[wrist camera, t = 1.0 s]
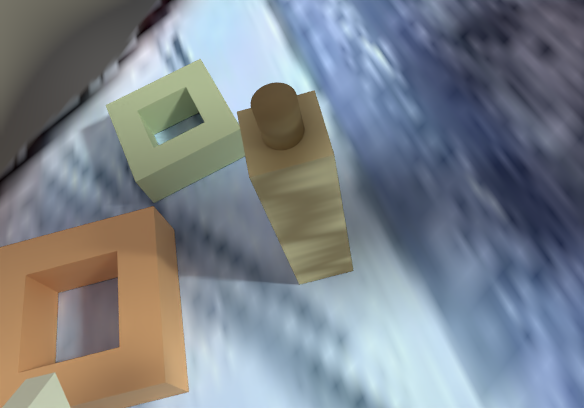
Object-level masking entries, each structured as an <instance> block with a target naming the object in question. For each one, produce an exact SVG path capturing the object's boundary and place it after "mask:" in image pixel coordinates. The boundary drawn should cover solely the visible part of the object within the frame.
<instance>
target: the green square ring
mask: <svg viewBox="0 0 584 408" xmlns="http://www.w3.org/2000/svg"><path fill="white" fill-rule="evenodd" d="M106 107H107V110H108V113H109V115H110V118H111V120H112V123H113V125H114V128H115V130H116V133H117V136H118V138H119V141H120V143H121V146H122V148H123V151H124V153H125V156H126V159H127V161H128V164H129V166H130V169H131V171H132V174H133V176H134V179H135V182H136V183H137V184H138V185H139V186H140V188H141V189H142V190H143V191H144V192H145V193H146V195H147V196H148V197H149V198H150V199H151V200H152V201H153V203H155V202H157V201H159V200H161V199H163V198H165V197H167V196H169V195H171V194H173V193H175V192H177V191H179V190H180V189H182V188H184V187H186V186H188V185H190V184H192V183H194V182H196V181H198V180H200V179H202V178H204V177H206V176H208V175H210V174H212V173H214V172H215V171H217V170H219V169H221V168H223V167H225V166H227V165H229V164H231V163H233V162H235V161H237V160H239V159H241V158H243V157H245V152H244V147H243V141H242V136H241V131H240V126H239V124H238V122H237V121H236V119H235V117H234V116H233V114H232V112H231V110H230V109H229V107H228V105H227V104H226V102H225V100H224V98H223V97H222V95H221V93H220V92H219V90H218V88H217V86H216V85H215V83H214V81H213V79H212V78H211V76H210V74H209V73H208V71H207V69H206V67H205V66H204V64H203V62H202V61H201V59H199V60H197V61H195V62H193V63H191V64H189V65H187V66H185V67H183V68H181V69H179V70H177V71H175V72H173V73H171V74H169V75H166V76H164V77H162V78H160V79H158V80H156V81H154V82H152V83H150V84H148V85H146V86H144V87H142V88H140V89H138V90H136V91H134V92H132V93H130V94H128V95H126V96H124V97H122V98H120V99H118V100H116V101H114V102H112V103H109V104H107V105H106ZM197 113H200V115H201V117H202V119H203V120H204V123H202V124H200V125H198V126H196V127H194V128H192V129H190V130H188V131H186V132H184V133H182V134H181V135H179V136H177V137H175V138H173V139H171V140H169V141H167V142H165V143H163V144H161V145H158V143H157V141H156V138H155V136H154V135H155V134H157V133H159V132H161V131H163V130H165V129H167V128H169V127H171V126H173V125H175V124H177V123H179V122H181V121H183V120H185V119H187V118H189V117H191V116H193V115H195V114H197Z"/></svg>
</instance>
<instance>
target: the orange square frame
mask: <svg viewBox="0 0 584 408" xmlns="http://www.w3.org/2000/svg"><path fill="white" fill-rule="evenodd" d="M117 277H118V305H119V347H118V348H114V349H110V350H106V351H102V352H98V353H94V354H90V355H86V356H83V357H79V358H75V359H71V360H67V361H63V362H59V363H55V360H56V336H57V313H58V293H59V292H63V291H67V290H71V289H75V288H79V287H82V286H86V285H90V284H94V283H98V282H101V281H105V280H109V279H113V278H117ZM54 372H55V373H56V376H57V378H58V380H59V382H60V385H61V387H62V389H63V392H64V394H65V396H66V398H67V401H68V403H69V405H70V408H126V407H130V406H134V405H138V404H142V403H146V402H150V401H154V400H158V399H162V398H166V397H170V396H174V395H178V394H182V393H186V392H189V388H188V377H187V366H186V355H185V344H184V333H183V322H182V311H181V300H180V289H179V278H178V267H177V256H176V245H175V233H174V229H173V228H172V227H171V225H170V224H169V223H168V222H167V221H166V220H165V219H164V217H163V216H162V215H161V214H160V213H159V212H158V211H157V209H156V208H155V207H154V206H152V207H148V208H145V209H141V210H137V211H133V212H130V213H126V214H122V215H118V216H115V217H111V218H107V219H104V220H100V221H96V222H92V223H89V224H85V225H81V226H77V227H74V228H70V229H66V230H63V231H59V232H55V233H51V234H48V235H44V236H40V237H36V238H33V239H29V240H25V241H22V242H18V243H14V244H10V245H7V246H3V247H0V408H2V407H3V406H4V405H5V404H6V402H7V401H8V400H9V399H10V398H11V396H12V395H13V394H14V393H15V392H16V390H17V389H18V388H19V387H20V386H21V384H22V383H23V382H24V381H25V380H26V379H29V378H33V377H38V376H42V375H46V374H50V373H54Z"/></svg>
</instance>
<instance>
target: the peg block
mask: <svg viewBox="0 0 584 408" xmlns="http://www.w3.org/2000/svg"><path fill="white" fill-rule="evenodd" d="M237 115H238V120H239V126H240V131H241V136H242V141H243V147H244V152H245V157H246V162H247V168H248V173H249V178H250V180H251V182H252V184H253V186H254V188H255V191H256V193H257V195H258V197H259V199H260V201H261V203H262V206H263V208H264V210H265V212H266V214H267V216H268V218H269V221H270V223H271V225H272V227H273V229H274V231H275V233H276V236H277V238H278V240H279V242H280V244H281V246H282V248H283V251H284V253H285V255H286V257H287V259H288V261H289V263H290V266H291V268H292V270H293V272H294V274H295V276H296V278H297V281H298V283H299V285H300V284H304V283H308V282H312V281H316V280H320V279H323V278H327V277H331V276H335V275H339V274H343V273H347V272H351V271H353V265H352V259H351V253H350V247H349V241H348V235H347V229H346V223H345V217H344V211H343V205H342V199H341V193H340V187H339V181H338V175H337V169H336V162H335V156H334V152H333V149H332V146H331V142H330V139H329V136H328V133H327V129H326V126H325V123H324V120H323V116H322V113H321V110H320V106H319V103H318V100H317V97H316V93H315V90H314V91H311V92H307V93H304V94H300V95H297V94H296V92H295V90H294V89H293V88H292V87H291V86H289V85H287V84H284V83H270V84H267V85H265V86H263V87H261V88H260V89H258V90H257V91H256V92H255V94H254V95H253V97H252V99H251V108H249V109H245V110H242V111H238V112H237Z"/></svg>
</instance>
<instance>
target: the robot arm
mask: <svg viewBox="0 0 584 408" xmlns="http://www.w3.org/2000/svg"><path fill="white" fill-rule="evenodd" d="M2 408H70V405H69V403H68V401H67V398H66V396H65V394H64V392H63V389H62V387H61V385H60V382H59V380H58V378H57V376H56V373H55V372H54V373H50V374H46V375H42V376H38V377H33V378H29V379H26V380H25V381H24V382H23V383H22V384H21V386H20V387H19V388H18V389H17V390H16V392H15V393H14V394H13V395H12V396H11V398H10V399H9V400H8V401H7V402H6V404H5V405H4V406H3V407H2Z"/></svg>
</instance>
